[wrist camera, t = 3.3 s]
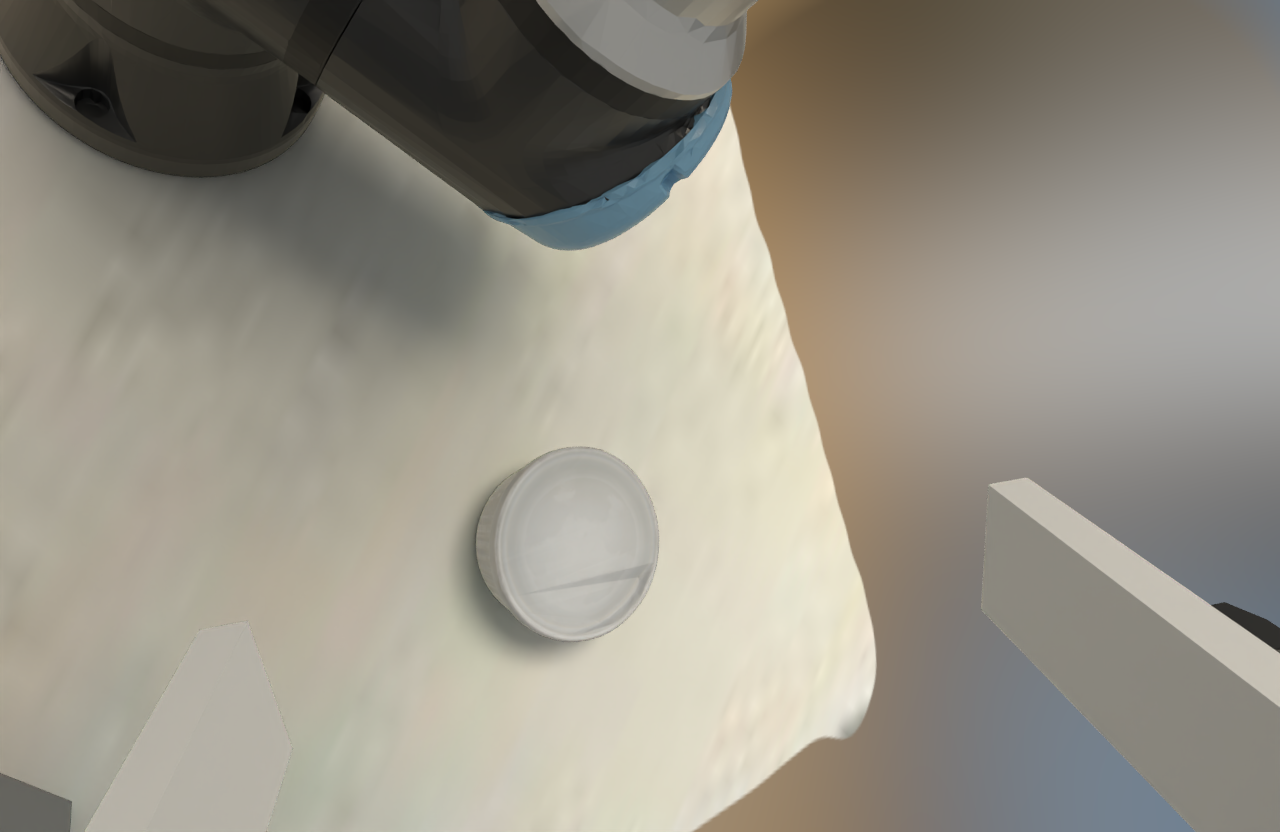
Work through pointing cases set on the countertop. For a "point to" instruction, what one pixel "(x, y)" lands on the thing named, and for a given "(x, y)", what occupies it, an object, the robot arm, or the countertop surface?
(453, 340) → the countertop surface
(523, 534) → the ramekin
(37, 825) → the stand
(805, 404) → the countertop surface
